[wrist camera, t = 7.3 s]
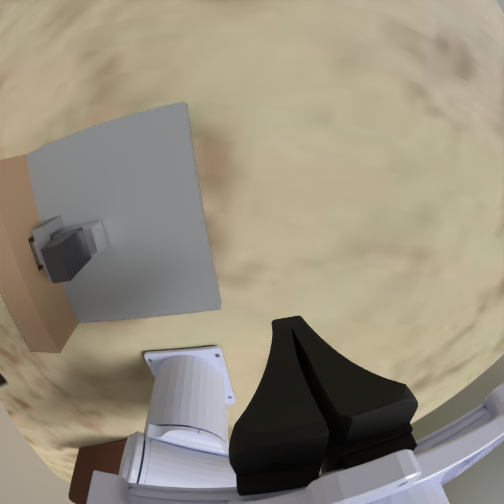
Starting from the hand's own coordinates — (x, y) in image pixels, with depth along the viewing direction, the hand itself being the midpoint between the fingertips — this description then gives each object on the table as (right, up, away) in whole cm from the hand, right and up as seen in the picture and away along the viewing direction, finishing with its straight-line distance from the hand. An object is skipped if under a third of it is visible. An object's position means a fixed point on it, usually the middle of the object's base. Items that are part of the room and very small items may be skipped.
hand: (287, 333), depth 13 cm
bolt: (-18, +5, +6) cm, 19 cm away
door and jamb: (-14, +6, +8) cm, 17 cm away
